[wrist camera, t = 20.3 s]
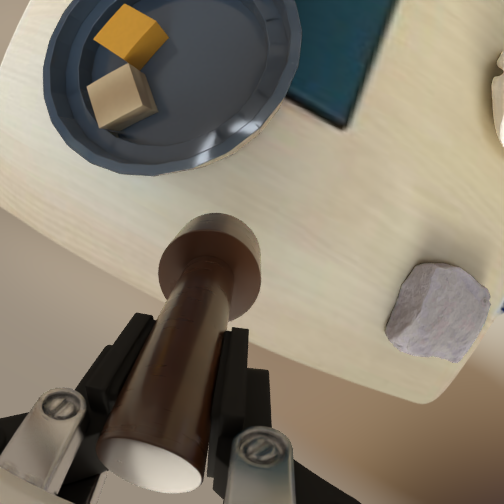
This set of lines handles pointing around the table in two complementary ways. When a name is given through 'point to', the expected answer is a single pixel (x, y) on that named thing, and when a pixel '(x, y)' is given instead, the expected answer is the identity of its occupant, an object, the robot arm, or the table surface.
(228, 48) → the bowl
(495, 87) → the skull bowl
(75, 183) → the table surface
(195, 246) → the pestle
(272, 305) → the table surface
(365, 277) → the table surface
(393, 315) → the stone block
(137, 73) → the cream block
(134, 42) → the mustard block
